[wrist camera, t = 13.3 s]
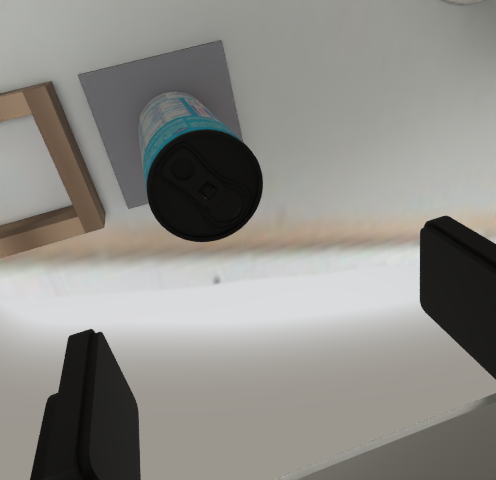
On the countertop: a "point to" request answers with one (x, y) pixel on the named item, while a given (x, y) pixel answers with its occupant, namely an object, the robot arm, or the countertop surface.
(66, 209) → the walnut socket block
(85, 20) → the countertop surface
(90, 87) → the charcoal rubber mat
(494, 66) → the countertop surface
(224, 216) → the beverage can
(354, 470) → the robot arm
